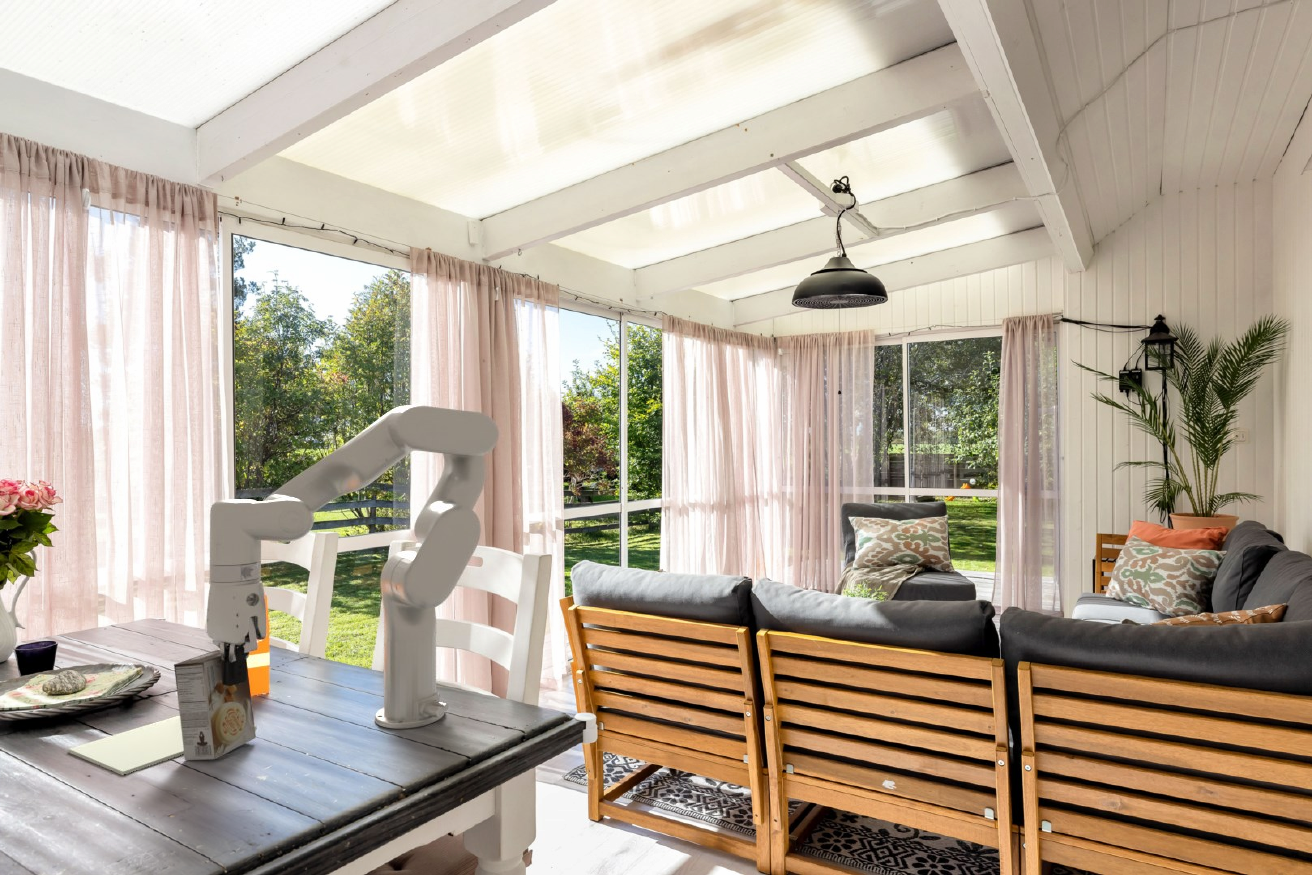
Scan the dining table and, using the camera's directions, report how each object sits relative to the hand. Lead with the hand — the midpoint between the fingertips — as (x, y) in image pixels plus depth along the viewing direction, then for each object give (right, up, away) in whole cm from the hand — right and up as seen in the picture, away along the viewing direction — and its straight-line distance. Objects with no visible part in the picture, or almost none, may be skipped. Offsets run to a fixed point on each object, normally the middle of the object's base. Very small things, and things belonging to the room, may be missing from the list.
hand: (234, 683), depth 125 cm
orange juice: (-16, -13, +33) cm, 39 cm away
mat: (-16, -12, +7) cm, 21 cm away
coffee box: (-3, -12, +2) cm, 13 cm away
